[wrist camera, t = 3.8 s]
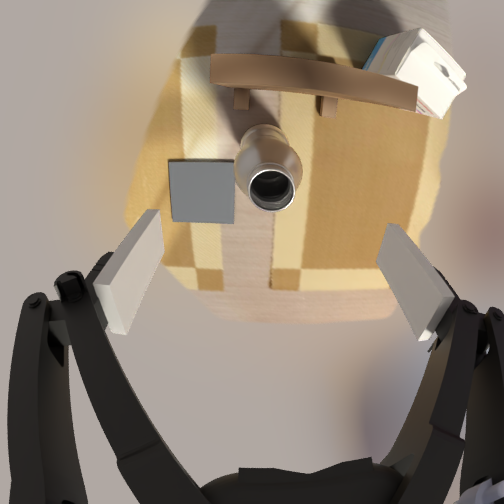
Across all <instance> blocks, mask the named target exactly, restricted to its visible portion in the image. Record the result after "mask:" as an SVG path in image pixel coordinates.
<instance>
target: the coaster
mask: <svg viewBox="0 0 504 504" xmlns="http://www.w3.org/2000/svg"><path fill="white" fill-rule="evenodd" d="M233 165H234V162H215V161H170V162H169V176H170V192H171V205H172V217H173V222H196V223H221V224H234V204H235V178H234V173H233Z"/></svg>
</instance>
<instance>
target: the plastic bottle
mask: <svg viewBox="0 0 504 504" xmlns="http://www.w3.org/2000/svg"><path fill="white" fill-rule="evenodd" d="M240 148H241V150H240V151H239V153H238V154H237V156H236V158H235V161H234V165H233V173H234V178H235V181H236V183H237V185H238V186H239V188H240V189H241V190H242V192H243V193H244V194H245V195H246V196H248V197H249V198H250V200H251V202H252V203H253V204H254V205H255V206H256V207H257V208H259V209H261V210H263V211H266V212H278V211H281V210H284V209H285V208H287V207H288V206H289V205H290V204H291V203H292V201H293V199H294V196H295V191H296V190H297V188H298V187H299V185H300V183H301V180H302V174H303V170H302V164H301V161H300V158H299V156H298V155H297V153H296V152H295V151H294V150H293V148H291V147H290V144H289V141H288V138H287V136H286V135H285V133H284V132H283V131H282V130H280V129H279V128H277V127H275V126H273V125H270V124H259V125H255V126H253V127H251V128H250V129H248V130H247V131H246V132H245V134H244V135H243V137H242V139H241V145H240Z"/></svg>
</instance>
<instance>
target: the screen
mask: <svg viewBox="0 0 504 504" xmlns="http://www.w3.org/2000/svg"><path fill="white" fill-rule="evenodd" d="M210 83H213V84H217V85H222V86H226V87H231V88H234V107H233V109H239V110H249V94H250V89H258V90H273V91H285V92H295V93H303V94H311V95H318V96H321V106H320V116H322V117H328V118H334V119H336V112H337V103H338V99H346V100H354V101H361V102H367V103H373V104H379V105H384V106H389V107H394V108H399V109H404V110H408V111H412V112H416V104H417V96H418V86H415V85H413V84H410V83H407V82H404V81H401V80H398V79H394V78H391V77H388V76H384V75H381V74H377V73H373V72H370V71H366V70H362V69H357V68H353V67H348V66H344V65H339V64H334V63H328V62H322V61H316V60H309V59H302V58H294V57H285V56H274V55H259V54H211V64H210Z"/></svg>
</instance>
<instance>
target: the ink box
mask: <svg viewBox="0 0 504 504" xmlns="http://www.w3.org/2000/svg"><path fill="white" fill-rule="evenodd" d="M362 70H366V71H370V72H373V73H377V74H381V75H384V76H388V77H391V78H394V79H398V80H401V81H404V82H407V83H410V84H413V85H415V86H418V96H417V104H416V113H420V114H424V115H428V116H432V117H435V118H439V119H441V120H442V119H443V117H444V116H445V114H446V112H447V111H448V109H449V107H450V105H451V103H452V101H453V100H454V98H455V96H456V95H458V94H459V93H461V92H462V91H464V90H466V89H467V86H466V84H465V83H464V82H463V81H464V79H465V77H466V73H465V72H464V71H463V70H462V68H461V67H460V66H459V65H458V64H457V63H456V61H455V60H454V59H453V58H452V57H451V56H450V55H449V54H448V53H447V52H446V51H445V50H444V49H443V47H442V46H441V45H440V44H439V43H438V42H437V41H436V40H435V39H434V38H432V37H431V36H430V35H429V34H428V33H427V32H426V31H425V30H424V29H423V28H417V29H413V30H409V31H405V32H402V33H398V34H394V35H391V36H387V37H384V38H381V39H379V41H378V43H377V44H376V46H375V48H374V49H373V51H372V53H371V55H370V56H369V58H368V60H367V61H366V63H365V65H364V66H363V68H362ZM403 110H404V109H403ZM407 111H408V110H407Z"/></svg>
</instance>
